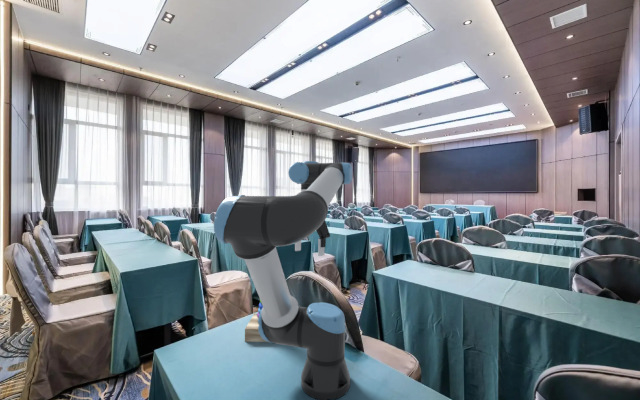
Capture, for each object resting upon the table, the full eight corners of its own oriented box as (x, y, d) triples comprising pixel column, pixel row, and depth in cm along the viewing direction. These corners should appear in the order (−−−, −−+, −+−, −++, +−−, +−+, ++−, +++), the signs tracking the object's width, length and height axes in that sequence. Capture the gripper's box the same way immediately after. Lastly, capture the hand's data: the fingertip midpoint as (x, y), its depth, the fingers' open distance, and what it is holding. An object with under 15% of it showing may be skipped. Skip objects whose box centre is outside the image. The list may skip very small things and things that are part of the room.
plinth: (279, 342, 109) (280, 329, 109) (244, 341, 109) (244, 328, 109) (285, 325, 123) (285, 314, 123) (253, 324, 123) (254, 313, 123)
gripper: (283, 199, 117) (282, 249, 117) (326, 200, 99) (325, 259, 99) (296, 200, 122) (295, 247, 122) (339, 200, 105) (338, 256, 105)
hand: (309, 253), depth 111 cm, fingers open, 13 cm apart
